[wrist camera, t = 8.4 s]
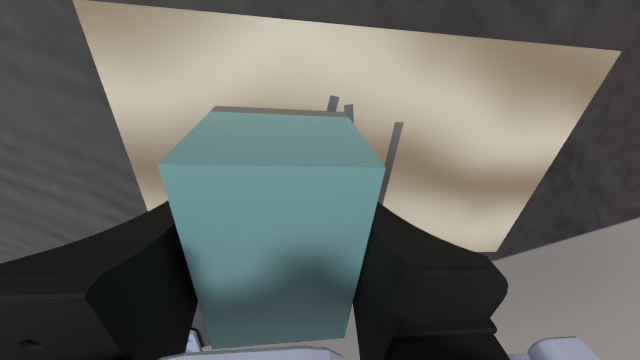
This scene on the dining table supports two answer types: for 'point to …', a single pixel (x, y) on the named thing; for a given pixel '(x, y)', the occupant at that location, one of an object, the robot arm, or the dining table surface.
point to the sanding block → (273, 220)
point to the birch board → (356, 101)
